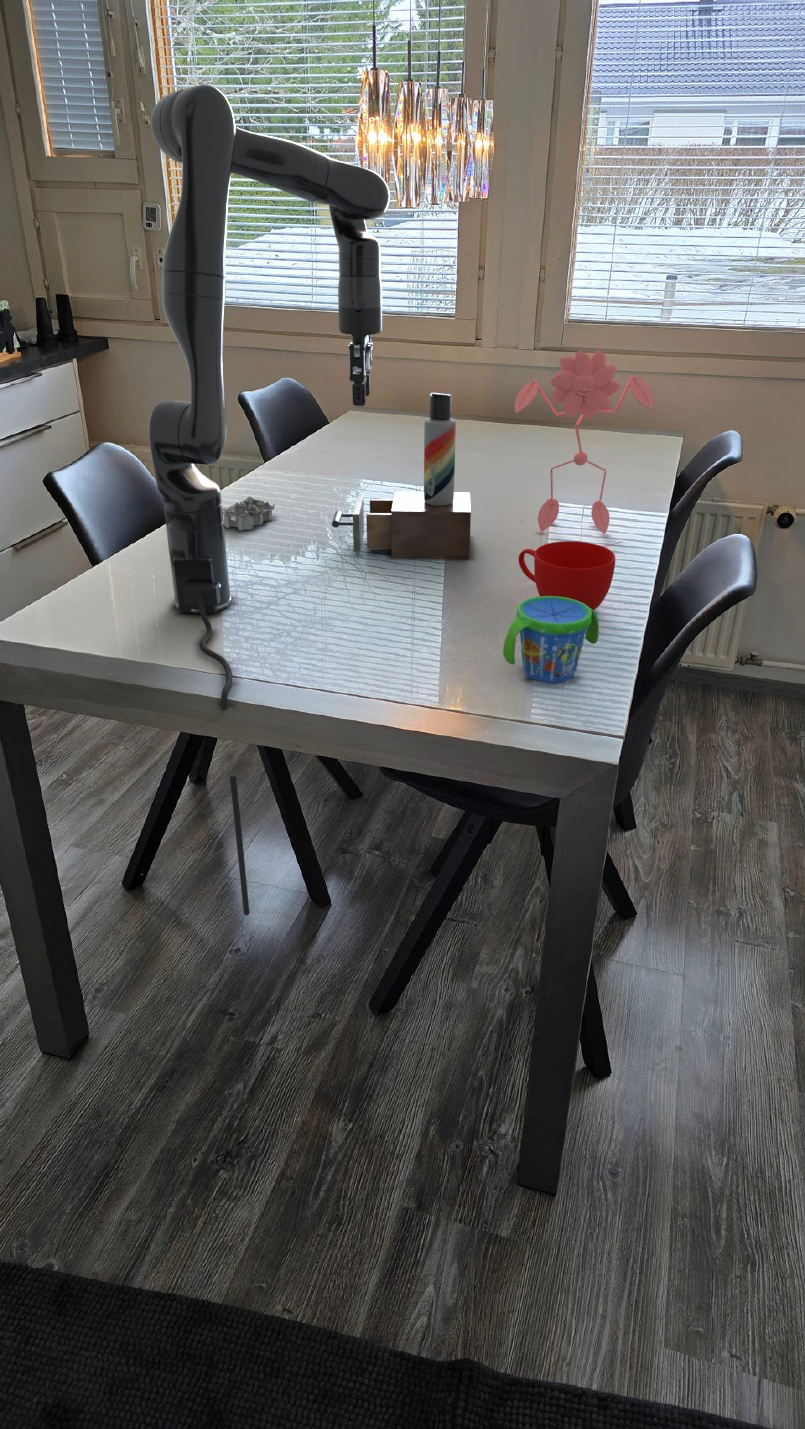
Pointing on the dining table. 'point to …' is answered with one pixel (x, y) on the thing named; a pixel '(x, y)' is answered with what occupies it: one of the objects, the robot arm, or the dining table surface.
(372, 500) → the drawer
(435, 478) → the lotion bottle
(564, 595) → the ceramic cup
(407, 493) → the cabinet
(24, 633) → the dining table surface
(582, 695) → the dining table surface
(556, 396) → the figurine
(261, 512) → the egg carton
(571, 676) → the snack cup
